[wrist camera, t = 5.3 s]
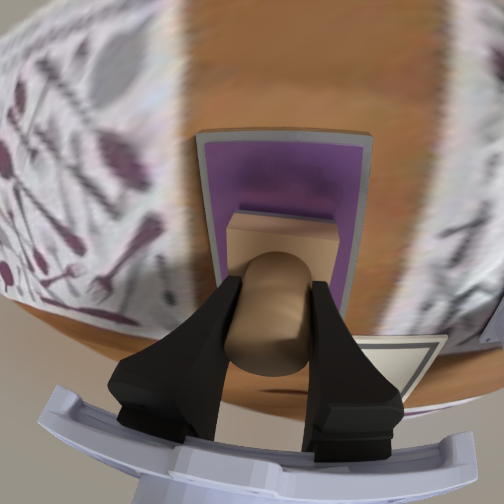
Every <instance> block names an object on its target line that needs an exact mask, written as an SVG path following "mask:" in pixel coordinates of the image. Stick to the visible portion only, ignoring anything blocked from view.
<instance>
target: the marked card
mask: <svg viewBox="0 0 504 504" xmlns="http://www.w3.org/2000/svg"><path fill="white" fill-rule="evenodd" d="M352 337H353V338H354V340H355V341H356V343H357V344H358V346H359V347H360V348H361V350H362V351H363V353H364V354H365V355H366V356H367V358H368V359H369V360H370V361H371V362H372V364H373V365H374V366H375V367H376V368H377V369H378V371H379V372H380V373H381V374H382V375H383V376H384V377H385V378H386V379H387V380H388V381H389V382H390V383H392V384H393V385H394V386H395V387H396V388H397V389H398V390H399V392H400V395H401V398H402V402H404V401H405V400H406V399H407V397H408V396H409V395H410V393H411V392H412V391H413V390H414V388H415V387H416V385H417V384H418V383H419V381H420V380H421V379H422V377H423V376H424V374H425V373H426V372H427V370H428V369H429V367H430V366H431V364H432V363H433V361H434V360H435V358H436V357H437V355H438V353H439V352H440V350H441V349H442V347H443V346H444V344H445V342H446V341H447V339H448V336H447V334H443V335H414V336H355V335H352Z"/></svg>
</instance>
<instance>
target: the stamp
mask: <svg viewBox="0 0 504 504" xmlns="http://www.w3.org/2000/svg"><path fill="white" fill-rule="evenodd" d="M226 230H227V263H228V275H231V276H241V278H242V287H241V290H240V294H239V297H238V301H237V304H236V307H235V311H234V314H233V318H232V321H231V324H230V328H229V331H228V335H227V338H226V341H225V345H224V350H225V353H226V355H227V357H228V359H229V360H230V361H231V362H232V363H233V364H235V365H236V366H237V367H239V368H241V369H243V370H245V371H247V372H249V373H252V374H256V375H261V376H268V377H279V376H286V375H290V374H293V373H296V372H298V371H300V370H301V369H302V368H304V367H305V366H306V364H307V363H308V361H309V354H310V332H311V289H312V281H326V282H327V283H328V286H329V285H330V281H331V277H332V272H333V268H334V264H335V260H336V255H337V251H338V247H339V242H340V240H339V234H338V228H337V222H336V220H329V219H321V218H313V217H304V216H295V215H286V214H277V213H267V212H257V211H247V210H235V212H234V214H233V216H232V218H231V220H230V222H229V224H228V226H227V228H226Z"/></svg>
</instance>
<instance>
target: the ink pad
mask: <svg viewBox="0 0 504 504" xmlns="http://www.w3.org/2000/svg"><path fill="white" fill-rule="evenodd" d="M196 143H197V151H198V160H199V168H200V176H201V183H202V191H203V199H204V206H205V213H206V220H207V227H208V234H209V240H210V247H211V253H212V260H213V266H214V272H215V278H216V284H217V288H218V287H219V286H220V284H221V283H222V282H223V281H224V279H225V278H226V277H227V276H228V263H227V230H226V228H227V226H228V224H229V222H230V220H231V218H232V216H233V214H234V212H235V210H247V211H257V212H267V213H277V214H286V215H295V216H304V217H313V218H321V219H329V220H336V222H337V228H338V234H339V240H340V242H339V247H338V251H337V255H336V260H335V264H334V268H333V272H332V277H331V281H330V285H329V289H330V292H331V295H332V297H333V300H334V302H335V305H336V307H337V309H338V311H339V313H340V315H341V317H342V319H343V321H344V318H345V314H346V310H347V306H348V301H349V297H350V292H351V288H352V283H353V278H354V273H355V268H356V263H357V258H358V252H359V247H360V241H361V235H362V229H363V222H364V215H365V208H366V201H367V193H368V185H369V176H370V166H371V155H372V143H373V136H372V135H371V134H370V133H369V132H361V131H350V130H337V129H320V128H294V127H251V128H224V129H207V130H201V131H199V132H198V133H196Z"/></svg>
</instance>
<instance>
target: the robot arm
mask: <svg viewBox="0 0 504 504" xmlns="http://www.w3.org/2000/svg"><path fill="white" fill-rule="evenodd" d="M241 287H242V278H241V276H231V275H228V276H227V277H226V278H225V279H224V281H223V282H222V283H221V284H220V286H219V287H218V288H217V289H216V290H215V291H214V293H213V294H212V295H211V296H210V297H209V298H208V299H207V300H206V301H205V303H204V304H203V305H202V306H201V307H200V308H199V309H198V310H197V311H196V312H195V313H194V314H193V315H192V316H190V317H189V318H188V319H187V320H186V321H185V322H184V323H183V324H181V325H180V326H179V327H178V328H176V329H175V330H174V331H172V332H171V333H170V334H168V335H167V336H165V337H164V338H162V339H161V340H159V341H158V342H156V343H154V344H153V345H151V346H149V347H147V348H146V349H144V350H142V351H140V352H138V353H136V354H133V355H131V356H129V357H127V358H125V359H122V360H120V362H119V363H118V365H117V367H116V368H115V370H114V372H113V374H112V376H111V378H110V380H109V382H108V385H107V386H108V389H109V391H110V392H111V394H112V395H113V396H114V397H115V398H116V400H117V401H118V402H119V403H120V404H121V405H122V408H121V410H120V412H119V414H118V415H116V414H114V413H111V412H109V411H106V410H104V409H101V408H99V407H96V406H94V405H91V404H89V403H87V402H84V401H83V400H82V398H81V397H80V396H79V395H77V394H76V393H75V392H73V391H71V390H69V389H67V388H65V387H63V386H60V385H57V386H56V388H55V389H54V391H53V393H52V395H51V397H50V399H49V400H48V402H47V404H46V406H45V408H44V410H43V411H42V413H41V415H40V417H39V420H38V423H39V424H40V425H41V426H42V427H44V428H45V429H46V430H48V431H49V432H50V433H52V434H53V435H54V436H56V437H57V438H59V439H60V440H61V441H63V442H64V443H66V444H68V445H69V446H71V447H73V448H75V449H77V450H79V451H80V452H82V453H84V454H86V455H88V456H90V457H92V458H94V459H96V460H98V461H100V462H102V463H104V464H106V465H108V466H110V467H112V468H115V469H117V470H119V471H121V472H124V473H126V474H128V475H131V476H133V477H136V478H138V479H140V480H139V483H138V486H137V488H136V491H135V494H134V497H133V500H132V503H131V504H403V503H407V502H412V501H417V500H422V499H426V498H430V497H434V496H438V495H441V494H445V493H448V492H451V491H453V490H456V489H458V488H460V487H463V486H465V485H467V484H469V483H472V482H474V481H476V480H477V479H478V472H477V462H476V453H475V447H474V439H473V433H472V431H471V430H470V431H466V432H462V433H457V434H453V435H450V436H447V437H446V438H444V439H443V440H441V441H440V443H435V444H430V445H424V446H417V447H410V448H404V449H395V450H391V439H392V438H393V428H394V427H395V426H396V425H397V424H398V423H399V422H400V421H401V420H402V418H403V417H404V406H403V402H402V398H401V395H400V392H399V390H398V389H397V388H396V387H395V386H394V385H393V384H392V383H390V382H389V381H388V380H387V379H386V378H385V377H384V376H383V375H382V374H381V373H380V372H379V371H378V369H377V368H376V367H375V366H374V365H373V364H372V362H371V361H370V360H369V359H368V358H367V356H366V355H365V354H364V353H363V351H362V350H361V348H360V347H359V346H358V344H357V343H356V341H355V340H354V338H353V337H352V335H351V333H350V332H349V330H348V328H347V326H346V325H345V323H344V321H343V319H342V317H341V315H340V313H339V311H338V309H337V307H336V305H335V302H334V300H333V297H332V295H331V292H330V289H329V286H328V283H327V282H326V281H312V289H311V332H310V354H309V389H308V400H307V410H306V419H305V428H304V436H303V443H302V450H301V452H291V451H278V450H268V449H259V448H251V447H244V446H237V445H231V444H225V443H219V442H214V437H215V430H216V424H217V418H218V412H219V406H220V401H221V396H222V391H223V386H224V381H225V376H226V372H227V368H228V365H229V362H230V360H229V359H228V357H227V355H226V353H225V350H224V345H225V341H226V338H227V335H228V331H229V328H230V324H231V321H232V318H233V314H234V311H235V307H236V304H237V301H238V297H239V294H240V290H241ZM499 341H500V343H501V346H502V348H503V350H504V297H503V299H502V300H501V302H500V304H499V306H498V308H497V309H496V311H495V313H494V315H493V316H492V318H491V320H490V321H489V323H488V325H487V326H486V328H485V330H484V331H483V333H482V334H481V336H480V337H479V342H480V343H481V344H483V343H492V342H499Z"/></svg>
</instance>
